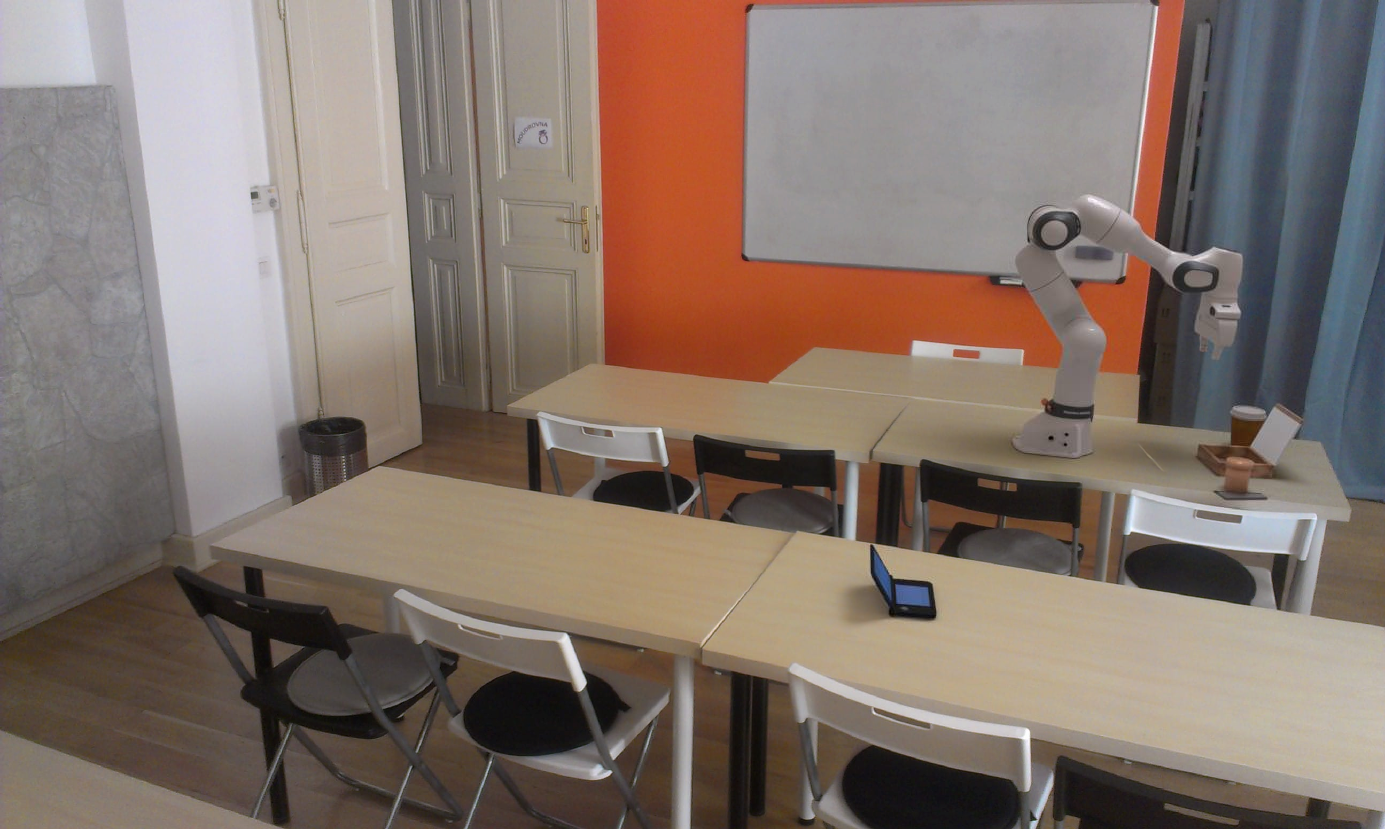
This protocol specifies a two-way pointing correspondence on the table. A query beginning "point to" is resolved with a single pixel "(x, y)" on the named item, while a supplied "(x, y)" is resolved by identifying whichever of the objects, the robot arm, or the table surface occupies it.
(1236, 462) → the tan cylinder
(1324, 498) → the table surface
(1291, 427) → the lid
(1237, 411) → the disposable coffee cup
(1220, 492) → the coaster
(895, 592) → the handheld game console
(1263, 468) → the tray
